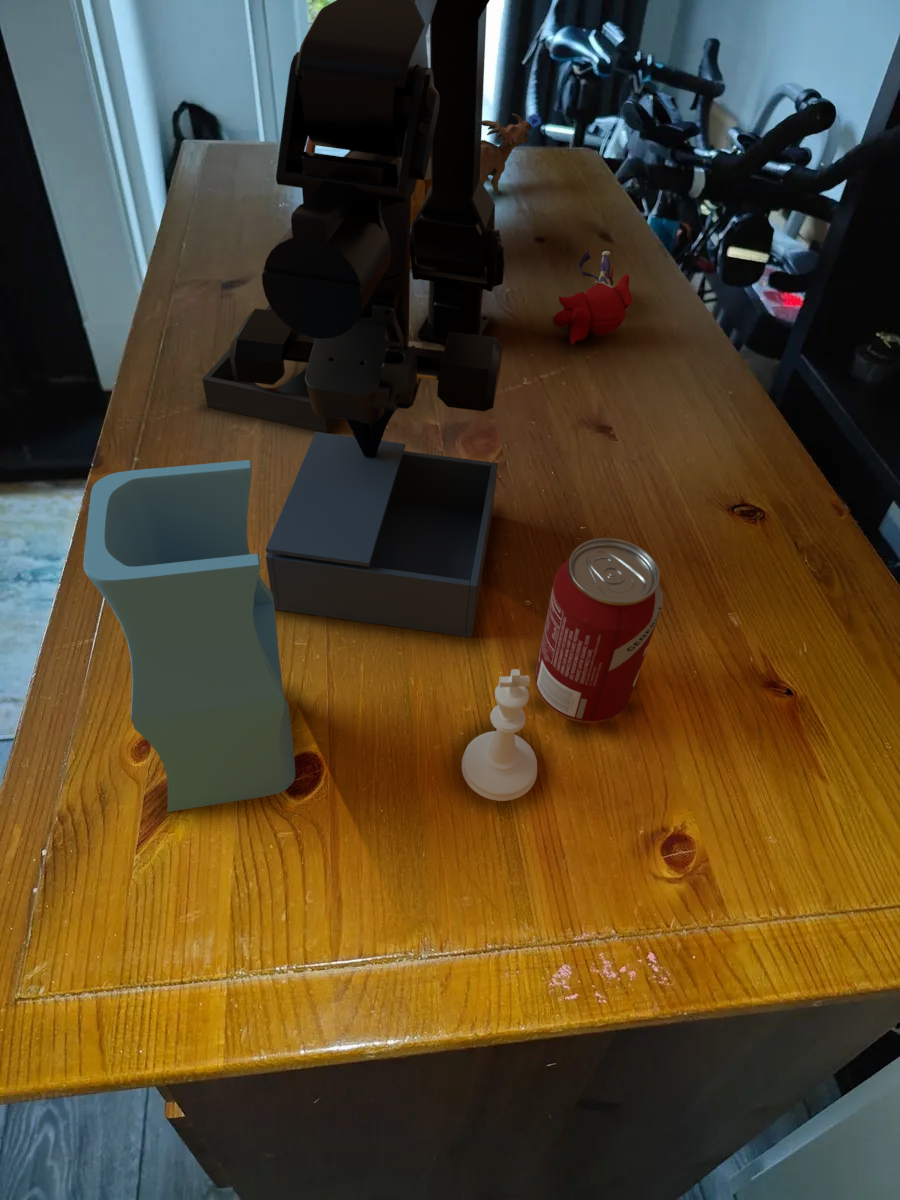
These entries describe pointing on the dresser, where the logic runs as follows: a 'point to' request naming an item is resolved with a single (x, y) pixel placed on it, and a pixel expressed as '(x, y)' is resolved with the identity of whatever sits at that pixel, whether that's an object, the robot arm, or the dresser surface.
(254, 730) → the vase
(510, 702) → the chess piece
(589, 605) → the soda can
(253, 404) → the tray
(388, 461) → the flap
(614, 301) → the figurine
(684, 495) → the dresser surface
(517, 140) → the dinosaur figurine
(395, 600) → the dark square open box
